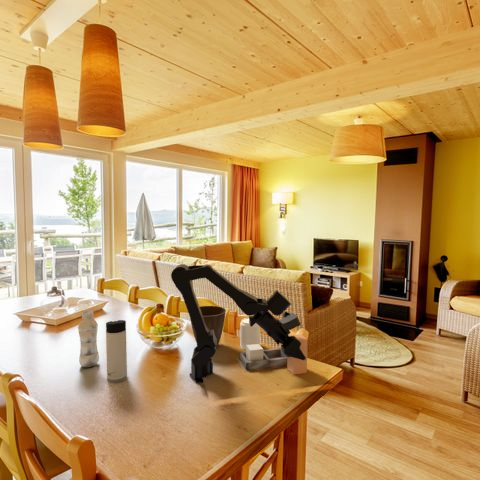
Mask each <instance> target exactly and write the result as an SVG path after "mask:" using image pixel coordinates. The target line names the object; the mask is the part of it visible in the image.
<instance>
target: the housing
mask: <svg viewBox="0 0 480 480" xmlns="http://www.w3.org/2000/svg"><path fill="white" fill-rule="evenodd" d="M238 356H239V357H236V361H237V362H238V364H239V366H240V368H241V369H242V371H243V372H244V373H246V372H254V371H262V370H269V369H277V368H279V369H280V368H286V367H287V360H288V357H287V356H286V355H285V354H284V353H283V351H282V350H281V347H279V348H270V349H269V348H268V349H263V360H257V361H247V359H246V351H243V352H241V351H240V352H239V353H238Z"/></svg>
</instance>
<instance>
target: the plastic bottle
mask: <svg viewBox="0 0 480 480" xmlns="http://www.w3.org/2000/svg"><path fill="white" fill-rule="evenodd" d="M81 314H82V315H81V318H82V319H81V321H80V322H79V324H78V326H77V329H78V335H79V342H80V343H79V344H80V351H79V353H80V354H79V358H78V359H79V360H78V361H79V365H80V366H81V367H82V368H91V367H94V366H96V365H97V364H98V363H99V360H100V355H99V350H98V343H97V341H98V340H97V339H98V327H99V325H98V322H97V320H95V318H94V317H95V316H94V310H90V309H89V310H84V311H82V313H81Z"/></svg>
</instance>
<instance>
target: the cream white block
mask: <svg viewBox="0 0 480 480" xmlns="http://www.w3.org/2000/svg"><path fill="white" fill-rule="evenodd" d="M263 350H264V348H263V347H262V345H261V344H260V345H259V344H252V345H246V350H245V352H246V359H247V361H257V360H263Z"/></svg>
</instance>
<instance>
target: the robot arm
mask: <svg viewBox="0 0 480 480" xmlns="http://www.w3.org/2000/svg"><path fill="white" fill-rule="evenodd" d="M170 275H171V276H170V277H171V280H172V283H173V284H174V286H175V287H176V289H177V291H178V292H180V294H181V295H182V298H183V301H184V303H185V307H186V310H187V313H188V315H189V319H190V318H191V320H190V322H191V321H192V324H193V327H194V330H195V332H196V340H197V343H196V346H195V348H194V349H193V351H192V357H191V360H190V363H191V364H190V368H191V369H190V373H189V377H190V378H191V379H192V381H194V382H195V384H199V383H202V382H204V378H208V377H209V376H210V375H212V374H213V373H214V363H213V359H212V358H213V357H214V356H215V354H216V349H217V348H218V347H217V338H216V337H215V335H214V329H212V330H209V329H208V328H207V326H206V324H205V321H204V318H203V315H202V312H201V309H200V304H199V301H198V298H197V295H196V293H195V291H194V282H193V281H196V280H200V279H206V280H208V281H209V282H210V283H211V284H213V285H214V286H215V287H216V288H218V289H219V290H220V291H222V293H224V294H225V295H226V296H228V297H229V298H230V299H232V301H233V302H234V303H235V304H236V306H237V307H238V308H239V309H240V311H241V312H243V314H245V315H246V316H248V318H249V324H250V326H251V327H252V326H253V325H254V324H255V323H257V324H258V325H259V326H260V329H262V330H263V331H264V332H265V333H266V335H267V336H268V337H269V338H271V340H273V341H274V342H275V343H276V344H277V345H280V344H281V346H280V348H281V350H282V351H283V353H284V354H285V355H286V356H287V357H293V358H297V359H301V360H305V359H306V357H305V356H304V354H303V352H302V351H301V349H300V346H301V342H300V341H299V340H298V339H297V338H296V337H295V336H290V337H289V335H291V330H293V329H295V328H297V327H299V326H301V322H300V320H299V317H298V316H297V314H296V313H295V312H294V313H293V312H290V313H289V312H288V311H287V309H288V308H289V307H290V306H291V305H292V303H291V302H290V301H289V299H288V298H287V297H286V296H285V295H284V294H282V293H281V292H280V291H279V290H275V291H274V292H273V293H272V295H271V296H270V297H269V298H267V299H265V298H259V297H256V296H255V295H253V294H252V293H249V292H248V291H246V290H244V289H240V288H239V287H237V285H235V284H233V283H232V282H231V281H230V280H229V279H227V278H226V277H225V276H224V275H222V274H221V273H220V272H218V271H217V270H216V269H215V268H213V265H212V264H211V265H210V264H207V263H206V264H202V265H201V264H200V265H187V264H185V263H180V264H177V266H176V267H175V268H173V270H172V271H171V274H170ZM275 316H277V317H278V316H279V317H280V316H282V317H281V319H280V320H279V319H278V318H277V317H275ZM196 340H195V341H196ZM216 347H217V348H216Z"/></svg>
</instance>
